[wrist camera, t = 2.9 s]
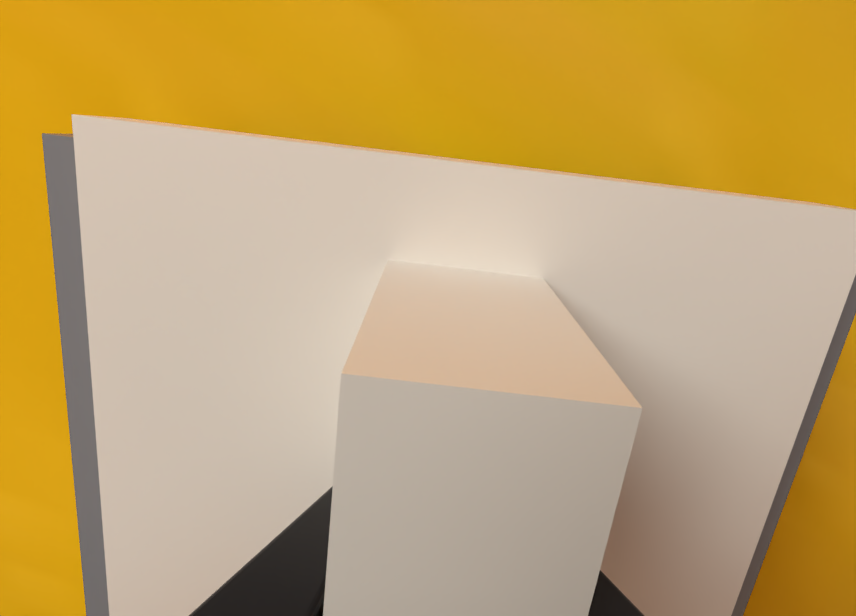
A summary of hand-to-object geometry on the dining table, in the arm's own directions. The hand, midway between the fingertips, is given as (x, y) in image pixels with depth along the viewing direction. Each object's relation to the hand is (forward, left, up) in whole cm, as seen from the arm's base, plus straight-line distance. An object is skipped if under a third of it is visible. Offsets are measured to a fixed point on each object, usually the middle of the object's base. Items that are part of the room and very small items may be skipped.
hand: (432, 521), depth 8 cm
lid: (0, 0, -2) cm, 2 cm away
